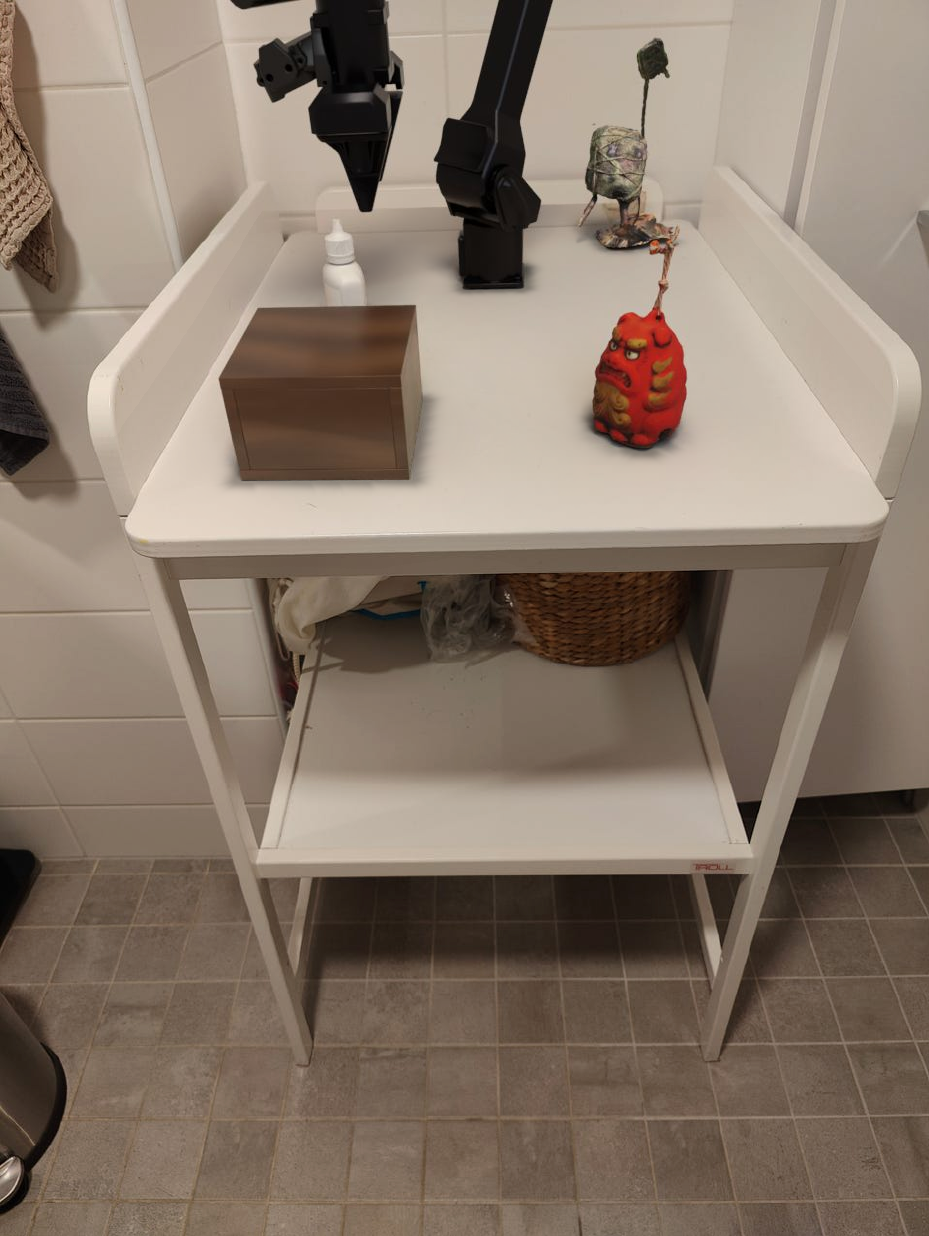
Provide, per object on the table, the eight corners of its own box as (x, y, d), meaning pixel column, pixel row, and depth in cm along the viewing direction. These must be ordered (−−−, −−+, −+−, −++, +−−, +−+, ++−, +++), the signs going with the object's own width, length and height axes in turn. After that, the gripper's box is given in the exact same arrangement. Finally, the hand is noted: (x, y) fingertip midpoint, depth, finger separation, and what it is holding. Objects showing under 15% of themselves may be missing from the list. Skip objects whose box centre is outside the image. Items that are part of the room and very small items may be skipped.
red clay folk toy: (571, 425, 74) (580, 232, 64) (633, 398, 77) (651, 211, 67) (640, 462, 69) (660, 260, 59) (703, 432, 72) (732, 236, 62)
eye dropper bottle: (322, 365, 84) (303, 230, 76) (336, 340, 88) (319, 209, 80) (369, 366, 83) (354, 230, 76) (380, 341, 88) (367, 209, 80)
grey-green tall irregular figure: (574, 229, 111) (582, 36, 98) (668, 227, 110) (688, 33, 98) (578, 252, 105) (586, 49, 92) (677, 250, 104) (700, 45, 91)
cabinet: (275, 402, 79) (257, 307, 73) (422, 400, 78) (416, 304, 73) (240, 480, 69) (218, 378, 64) (409, 479, 68) (400, 375, 63)
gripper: (272, -17, 81) (301, 171, 92) (226, 15, 67) (266, 233, 77) (396, -24, 81) (411, 166, 91) (376, 7, 67) (396, 228, 77)
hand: (371, 195), depth 84 cm, fingers open, 9 cm apart
